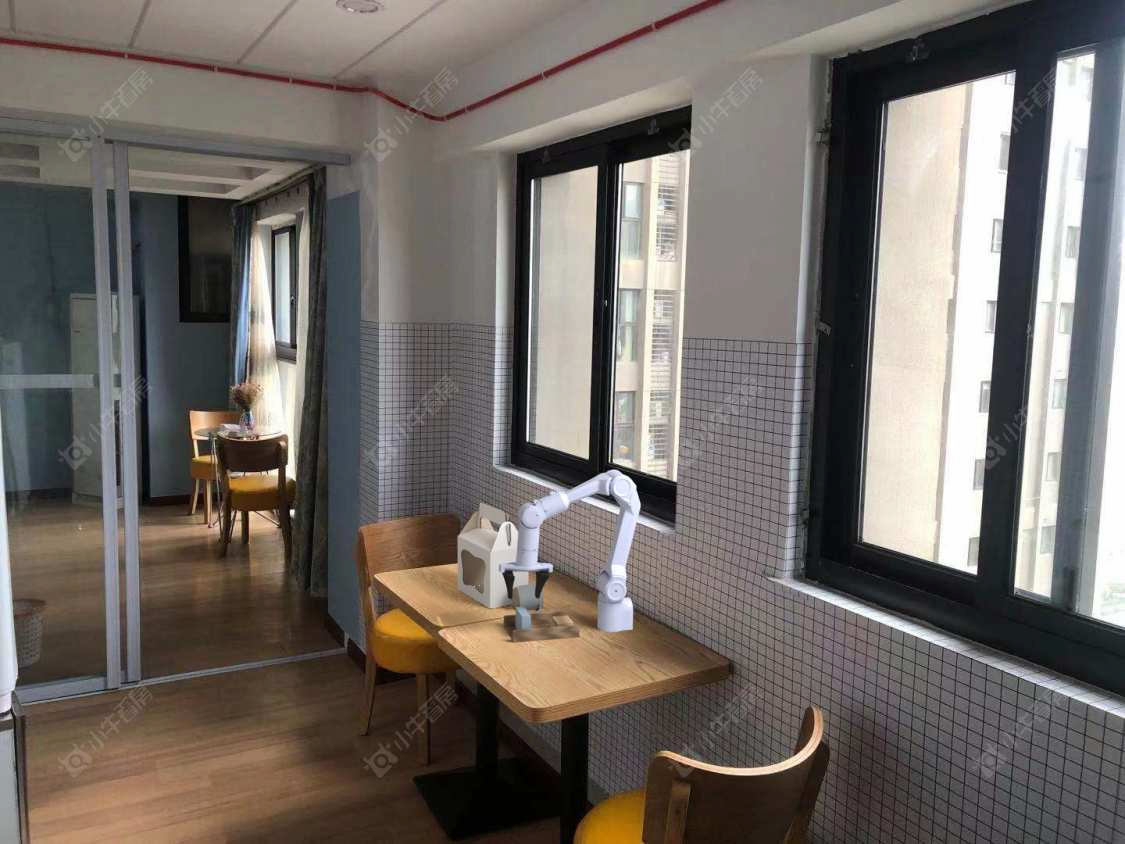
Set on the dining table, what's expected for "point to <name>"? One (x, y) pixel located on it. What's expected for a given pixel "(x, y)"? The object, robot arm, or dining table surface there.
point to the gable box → (487, 557)
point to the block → (522, 619)
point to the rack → (540, 628)
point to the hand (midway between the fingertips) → (523, 597)
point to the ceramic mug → (527, 598)
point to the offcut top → (562, 621)
